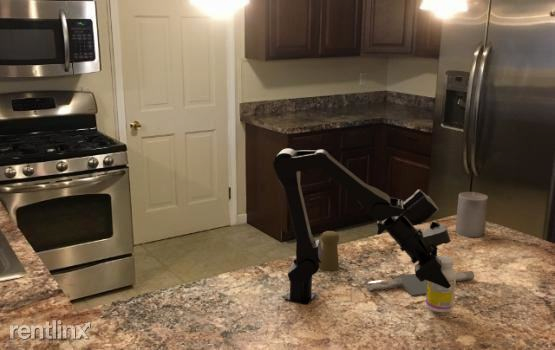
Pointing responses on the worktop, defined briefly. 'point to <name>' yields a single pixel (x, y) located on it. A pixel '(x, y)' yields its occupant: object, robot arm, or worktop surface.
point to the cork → (329, 251)
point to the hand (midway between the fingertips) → (447, 281)
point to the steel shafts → (399, 282)
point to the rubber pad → (413, 284)
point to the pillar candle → (471, 214)
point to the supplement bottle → (442, 288)
